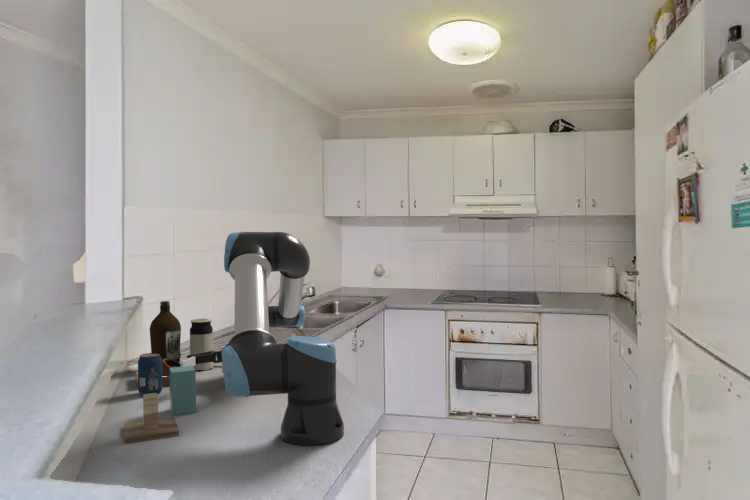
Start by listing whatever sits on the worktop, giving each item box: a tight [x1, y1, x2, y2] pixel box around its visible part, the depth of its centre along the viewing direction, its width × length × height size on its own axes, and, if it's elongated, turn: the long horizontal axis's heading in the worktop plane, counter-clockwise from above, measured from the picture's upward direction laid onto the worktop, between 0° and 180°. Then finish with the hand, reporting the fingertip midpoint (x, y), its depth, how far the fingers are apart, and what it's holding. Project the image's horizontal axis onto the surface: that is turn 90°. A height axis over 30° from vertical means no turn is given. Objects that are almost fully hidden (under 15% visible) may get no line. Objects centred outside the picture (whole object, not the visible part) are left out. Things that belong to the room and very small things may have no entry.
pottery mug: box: [162, 358, 181, 373], centre depth 187 cm, size 12×10×8 cm
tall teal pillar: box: [169, 366, 197, 417], centre depth 154 cm, size 6×6×12 cm
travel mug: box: [189, 318, 214, 371], centre depth 204 cm, size 8×8×18 cm
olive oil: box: [149, 300, 182, 367], centre depth 202 cm, size 11×11×25 cm
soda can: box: [137, 352, 164, 396], centre depth 171 cm, size 7×7×12 cm
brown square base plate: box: [123, 393, 180, 444], centre depth 137 cm, size 12×12×9 cm
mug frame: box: [135, 366, 176, 390], centre depth 186 cm, size 15×17×3 cm
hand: (202, 367), depth 163 cm, fingers open, 13 cm apart
